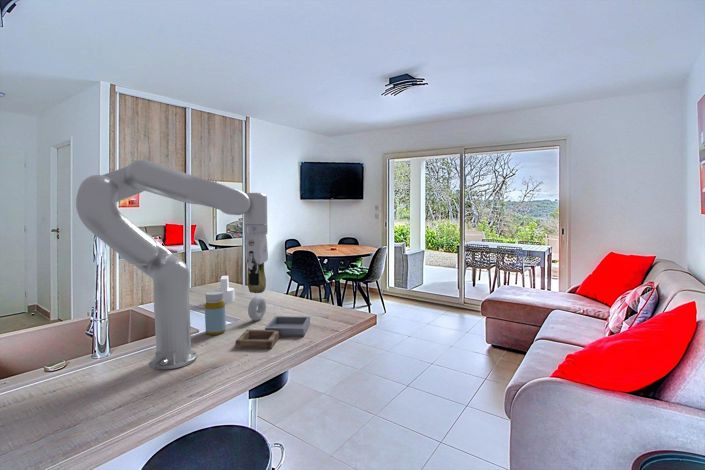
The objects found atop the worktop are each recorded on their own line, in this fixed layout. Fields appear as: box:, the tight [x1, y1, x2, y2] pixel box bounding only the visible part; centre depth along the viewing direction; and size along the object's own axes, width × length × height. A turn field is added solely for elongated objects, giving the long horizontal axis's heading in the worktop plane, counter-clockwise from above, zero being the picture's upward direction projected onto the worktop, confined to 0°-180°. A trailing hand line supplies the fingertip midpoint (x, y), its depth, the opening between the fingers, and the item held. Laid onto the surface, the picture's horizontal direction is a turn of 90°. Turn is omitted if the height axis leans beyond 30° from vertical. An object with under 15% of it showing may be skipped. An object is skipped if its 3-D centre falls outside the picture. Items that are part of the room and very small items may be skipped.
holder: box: [235, 329, 281, 350], centre depth 126 cm, size 11×12×2 cm
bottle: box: [204, 290, 227, 336], centre depth 135 cm, size 7×7×15 cm
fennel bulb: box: [247, 262, 267, 294], centre depth 124 cm, size 6×5×12 cm
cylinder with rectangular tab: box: [214, 275, 236, 304], centre depth 179 cm, size 9×9×12 cm
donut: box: [247, 295, 267, 321], centre depth 150 cm, size 10×4×10 cm, turn 159°
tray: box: [264, 315, 311, 338], centre depth 138 cm, size 14×14×3 cm
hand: (256, 282), depth 124 cm, fingers closed on fennel bulb, 4 cm apart
